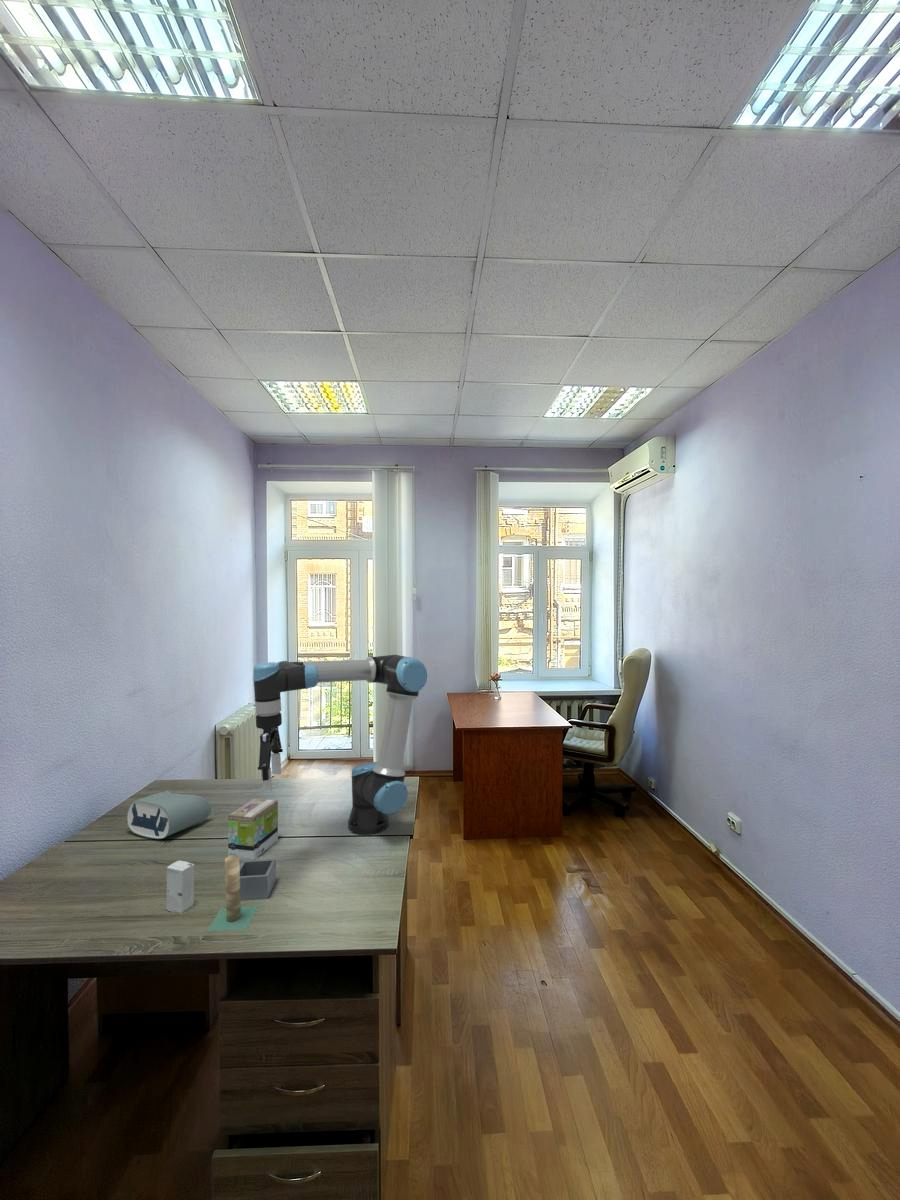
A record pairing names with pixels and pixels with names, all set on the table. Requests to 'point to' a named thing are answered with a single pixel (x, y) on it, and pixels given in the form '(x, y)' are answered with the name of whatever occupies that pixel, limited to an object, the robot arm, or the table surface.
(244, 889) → the pen cup
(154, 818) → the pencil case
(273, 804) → the tea box
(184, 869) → the skincare box
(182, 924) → the table surface
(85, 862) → the table surface
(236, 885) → the dowel
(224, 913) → the mat
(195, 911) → the table surface
